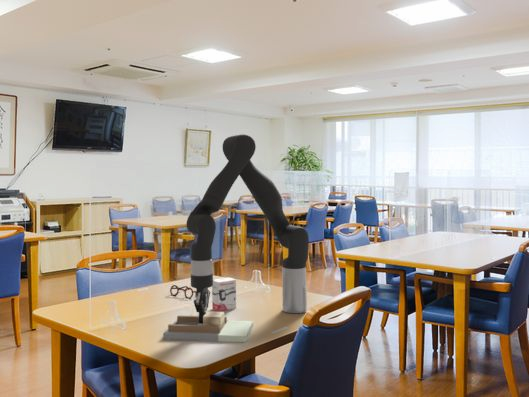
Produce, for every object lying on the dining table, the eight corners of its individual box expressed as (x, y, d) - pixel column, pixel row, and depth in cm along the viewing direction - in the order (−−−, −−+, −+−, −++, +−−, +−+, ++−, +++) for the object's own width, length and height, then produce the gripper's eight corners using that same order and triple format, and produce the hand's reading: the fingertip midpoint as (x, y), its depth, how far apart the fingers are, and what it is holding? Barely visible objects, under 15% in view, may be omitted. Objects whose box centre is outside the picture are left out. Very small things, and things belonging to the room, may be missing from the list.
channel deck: (253, 326, 181) (253, 315, 181) (245, 342, 165) (245, 329, 165) (177, 324, 185) (177, 313, 185) (163, 339, 169) (162, 327, 169)
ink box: (217, 311, 201) (217, 282, 200) (211, 308, 205) (211, 279, 204) (236, 308, 205) (236, 279, 204) (230, 305, 209) (230, 277, 209)
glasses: (169, 296, 228) (169, 285, 227) (189, 290, 239) (189, 279, 238) (192, 300, 220) (191, 288, 220) (211, 293, 231) (211, 282, 231)
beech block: (224, 324, 177) (224, 311, 177) (220, 330, 171) (220, 317, 171) (207, 324, 178) (207, 311, 178) (203, 329, 172) (203, 316, 172)
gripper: (207, 276, 167) (208, 329, 168) (216, 268, 180) (217, 317, 181) (185, 276, 168) (186, 328, 169) (196, 268, 181) (197, 316, 182)
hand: (202, 322), depth 175 cm, fingers closed
